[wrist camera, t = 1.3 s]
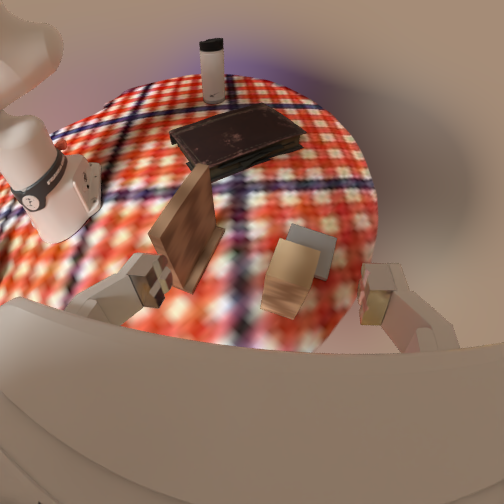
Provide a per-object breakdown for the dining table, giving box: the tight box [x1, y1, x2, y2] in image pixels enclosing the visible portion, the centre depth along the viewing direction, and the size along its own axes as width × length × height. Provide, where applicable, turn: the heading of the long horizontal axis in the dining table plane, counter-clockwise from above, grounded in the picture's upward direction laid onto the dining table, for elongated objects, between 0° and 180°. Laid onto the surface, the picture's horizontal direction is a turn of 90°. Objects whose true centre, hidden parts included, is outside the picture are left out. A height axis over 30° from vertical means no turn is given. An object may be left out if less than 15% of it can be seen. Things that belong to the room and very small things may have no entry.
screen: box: [148, 163, 224, 294], centre depth 37 cm, size 12×4×14 cm, turn 160°
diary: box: [169, 103, 307, 183], centre depth 56 cm, size 19×25×5 cm
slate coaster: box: [286, 224, 337, 281], centre depth 43 cm, size 8×8×1 cm
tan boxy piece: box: [260, 238, 321, 320], centre depth 35 cm, size 5×5×11 cm
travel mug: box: [199, 38, 225, 104], centre depth 61 cm, size 6×7×20 cm
